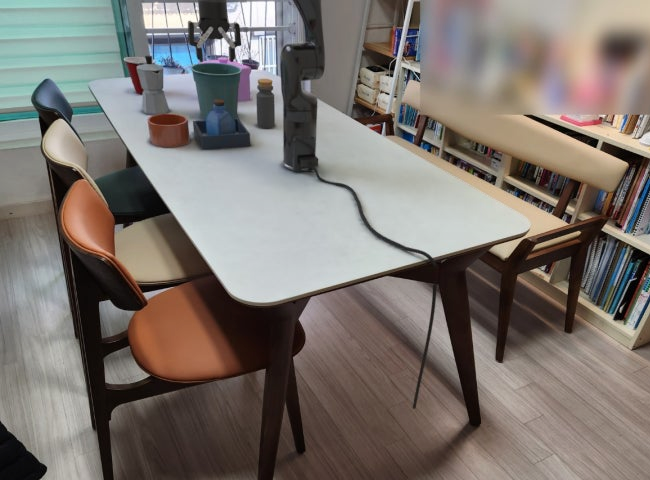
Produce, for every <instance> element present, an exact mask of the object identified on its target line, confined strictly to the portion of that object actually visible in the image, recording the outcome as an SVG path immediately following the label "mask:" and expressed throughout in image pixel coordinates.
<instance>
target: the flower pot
mask: <svg viewBox="0 0 650 480" xmlns="http://www.w3.org/2000/svg"><path fill="white" fill-rule="evenodd" d="M190 66H191V67H189V69H190V71H191V73H192V76H193V77H192V78H193V81H194V83H195V89H196V94H197V101H198V106H199V112H200V116H201V118H202V119H203V120H206V118H207V116H208V114H209V113H210V111H214V110H215V109H214V107H213V105H214V100H216V99H221V100H224V104H225V111H227V112H229V113H230V114H231V116H232V117H233V119H238V105H239V101H238V89H239V83H240V73H241V72H242V69H241V68H239V67H237V66H234V65H230V64H224V63H198V62H197V63H194V64H192V65H190Z"/></svg>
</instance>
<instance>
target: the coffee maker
mask: <svg viewBox="0 0 650 480" xmlns="http://www.w3.org/2000/svg"><path fill="white" fill-rule="evenodd" d="M144 58H145V59H146V63H139V66H137V72H138V76H139V79H140V83H141V86H142V89H144V91H143V94H142V99H141V100H142V101H141V102H142V105H141V106H142V107H141V110H142V113H143V114H145V115H148V116H149V115H150V116H154V115H158V114H169V112H170V108H169V104H168V102H167V98H166V94H165V91H164V90H163V89H164V66H163V65H159V64H156V63H155V64H152V59H153V56H152V55H144Z"/></svg>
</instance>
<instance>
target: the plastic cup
mask: <svg viewBox="0 0 650 480" xmlns="http://www.w3.org/2000/svg"><path fill="white" fill-rule="evenodd" d="M123 61H124V63H125V65H126V67H127V70H128V73H129V76H130V79H131V83H132V85H133V88H134V91H135V93H136V94H137V95H143V91H144V89H142V86H141V83H140V79H139V76H138V72H137V66H139V63H146V59H145V57H144V56H143V57H142V56H141V57H140V56H126V57H124V58H123ZM156 63H157V60H155V59H153V58H152V64H156Z"/></svg>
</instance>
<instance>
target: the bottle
mask: <svg viewBox="0 0 650 480" xmlns="http://www.w3.org/2000/svg"><path fill="white" fill-rule="evenodd" d="M257 83H258V85H257V86H256V89H257V90H258V92H256V94H255V95H256V97H255V98H256V99H255V100H256V123H257V125H256V126H257V128H259V129H266V130H267V129H273V128H275V126H276V114H275V112H276V111H275V108H276V107H275V106H276V105H275V103H276V102H275V94H274V93H273V91H274V85H273V80H272V79H270V78H258V79H257Z"/></svg>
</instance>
